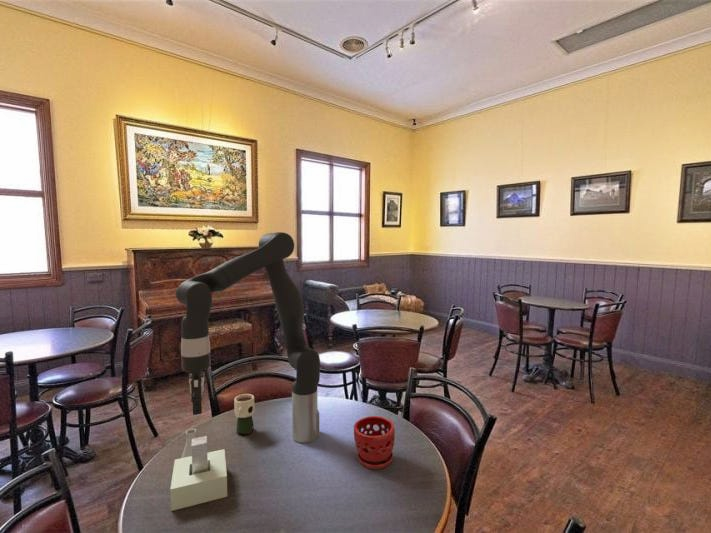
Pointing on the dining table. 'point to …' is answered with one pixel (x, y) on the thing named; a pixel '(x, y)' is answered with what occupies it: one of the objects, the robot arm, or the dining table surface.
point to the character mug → (244, 413)
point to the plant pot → (374, 442)
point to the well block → (198, 481)
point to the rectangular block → (199, 455)
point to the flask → (189, 442)
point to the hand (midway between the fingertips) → (197, 407)
